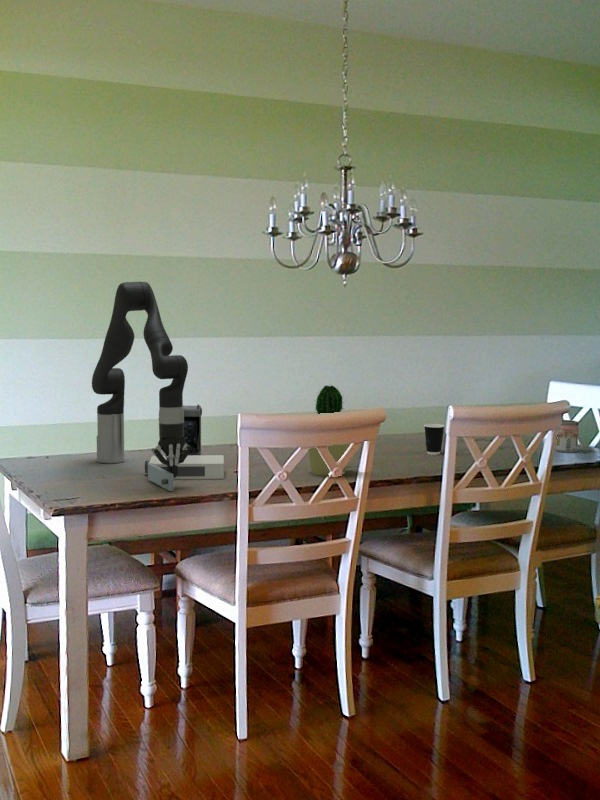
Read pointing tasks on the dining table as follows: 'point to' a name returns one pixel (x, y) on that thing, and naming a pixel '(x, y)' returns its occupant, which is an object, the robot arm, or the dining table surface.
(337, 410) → the potted cactus
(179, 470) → the white flat box
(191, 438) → the vintage camera
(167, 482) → the side door
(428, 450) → the dixie cup
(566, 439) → the house shaped jar
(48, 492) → the dining table surface
